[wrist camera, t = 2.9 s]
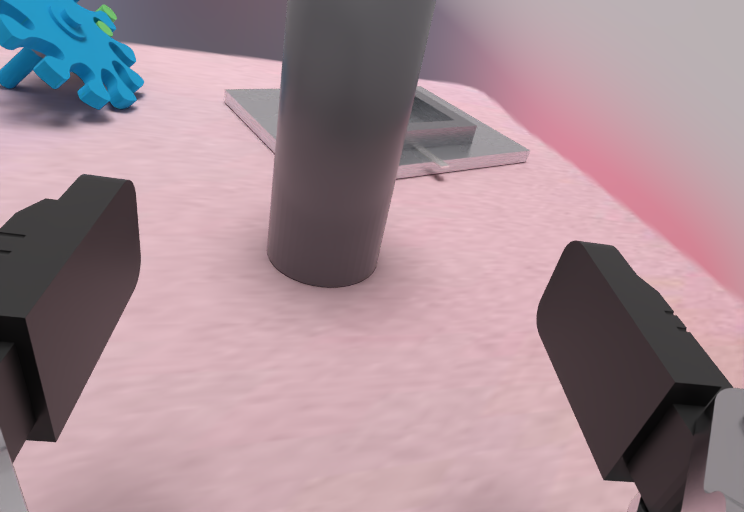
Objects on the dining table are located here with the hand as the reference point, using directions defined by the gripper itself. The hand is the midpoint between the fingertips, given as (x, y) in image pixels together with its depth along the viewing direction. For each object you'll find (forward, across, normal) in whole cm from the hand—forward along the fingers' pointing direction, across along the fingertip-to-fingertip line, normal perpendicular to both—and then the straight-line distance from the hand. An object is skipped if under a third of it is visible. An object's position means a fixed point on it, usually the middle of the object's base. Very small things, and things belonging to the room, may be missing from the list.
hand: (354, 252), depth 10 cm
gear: (+24, +15, +7) cm, 29 cm away
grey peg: (+10, 0, +7) cm, 12 cm away
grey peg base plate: (+25, -3, +7) cm, 26 cm away
